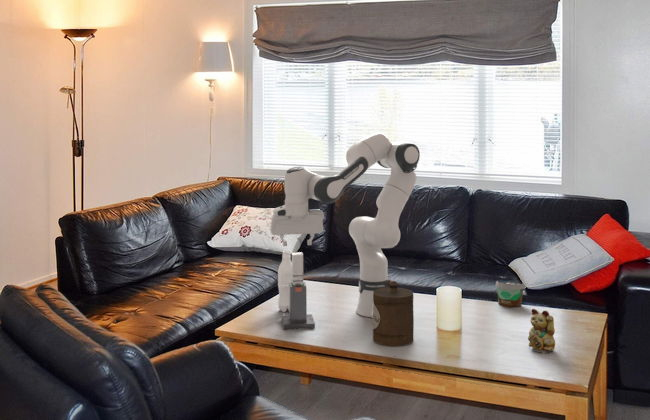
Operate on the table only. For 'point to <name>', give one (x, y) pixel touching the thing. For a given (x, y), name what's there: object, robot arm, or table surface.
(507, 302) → the food container
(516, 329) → the table surface
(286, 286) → the water bottle
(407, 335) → the wooden container
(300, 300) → the stand
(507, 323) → the table surface
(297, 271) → the column
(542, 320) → the decorative figurine
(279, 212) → the robot arm
